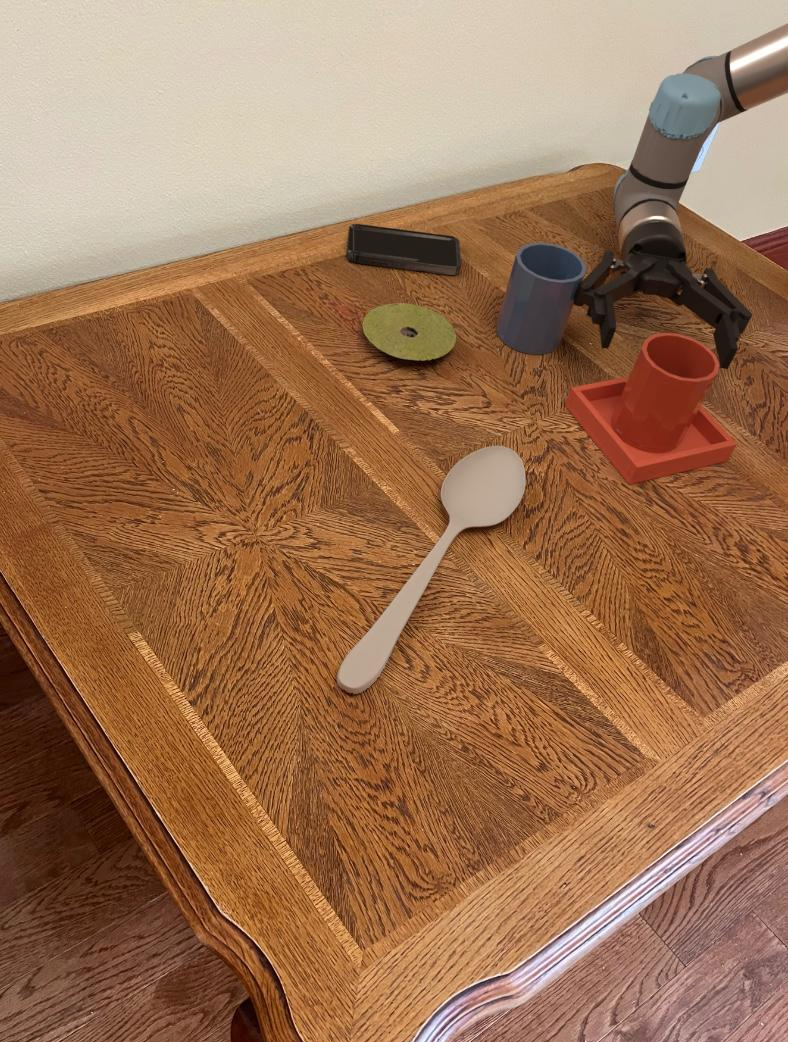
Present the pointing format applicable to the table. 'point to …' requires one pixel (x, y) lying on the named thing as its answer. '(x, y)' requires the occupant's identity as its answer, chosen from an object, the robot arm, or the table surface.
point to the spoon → (440, 551)
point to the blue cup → (539, 297)
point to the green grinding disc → (409, 331)
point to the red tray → (695, 450)
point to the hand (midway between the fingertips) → (669, 348)
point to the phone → (403, 249)
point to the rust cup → (664, 392)
